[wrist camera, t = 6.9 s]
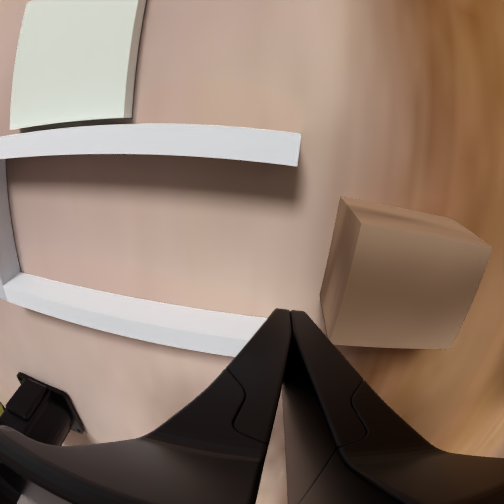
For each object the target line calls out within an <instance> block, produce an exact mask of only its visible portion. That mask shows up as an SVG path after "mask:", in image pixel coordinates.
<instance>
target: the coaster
mask: <svg viewBox="0 0 504 504" xmlns="http://www.w3.org/2000/svg"><path fill="white" fill-rule="evenodd" d="M145 4H146V0H33V1H31V2H29V3H27V5H26V9H25V13H24V17H23V21H22V26H21V31H20V36H19V41H18V47H17V53H16V59H15V66H14V74H13V83H12V95H11V111H10V130H14V129H20V128H26V127H33V126H39V125H47V124H54V123H63V122H72V121H83V120H95V119H111V118H132V104H133V92H134V81H135V71H136V63H137V54H138V47H139V40H140V33H141V27H142V21H143V15H144V9H145Z"/></svg>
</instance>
